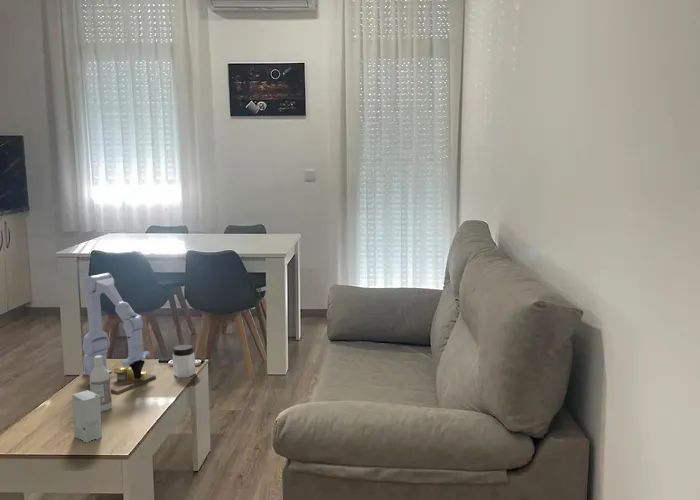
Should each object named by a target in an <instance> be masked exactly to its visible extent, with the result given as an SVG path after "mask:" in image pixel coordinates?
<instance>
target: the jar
mask: <svg viewBox="0 0 700 500" xmlns="http://www.w3.org/2000/svg"><path fill="white" fill-rule="evenodd" d="M172 349H173V350H172V366H173V367H172V369H173V376H175V377H176V378H178V379H179V378H190V377H191V376H193V374H194V375H195V374H196V363H195V362H196V360H195V359H196V358H195V352H194V345H192V344H186V343H185V344H177V345H175V346H173V348H172Z"/></svg>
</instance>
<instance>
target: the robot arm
mask: <svg viewBox="0 0 700 500" xmlns="http://www.w3.org/2000/svg"><path fill="white" fill-rule="evenodd" d="M83 283H84V294H85V297H86V299H85V300H86V309H87V310H86V311H87V322H88V332H87V333H86V334H85V335H84V337H83V342H82V351H83V352H84V353H85V354H84V356H83V358H82V364H83V372H82V373H81V374H82V375H85V376H89V377H90V374H91V372H92V370H93V368H94V367H95V365H94V356H97V355H101V356H102V359H103V366H104V367H105V368H106V369H107V371H108V372H109V374H110V373H112V372H113V371H112V370H109V369H108V362H107V353H108V350H109V349H110V346H111V345H110V344H111V342H110V341H111V340H110V339H109V336H108V333H107V332H105V331H104V330H103V320H102V306H101V294H105V295H106V296H107V298H108V299H109V300H110V301H111V302H112V304H113V305H114V307H115V309H114V310H115V312H116V314H117V315H118V317H119V318H120V320H121V321H122V323H123V324H122V329H123V330H124V332H125V336H126V339H127V340H126V341H127V349H128V350H127V353H128V356H127V358H125V360H124V361H121V363H122V366H124V367H127V366H130V367H131V369H132V371H133V373H134V378H135V379H140V378H141V372H142V370H143V367H144V365H145V359H147V358H149V357H150V355H151V354H150V351H144V343H143V331H142V330H143V329H144V328H145V320H144V318H143V316H142V315H141V314H138V313H136V312H135V311H134V310H133V308H132V306H131V305H130V303H128V302H127V301H124V300H123V298H122V296H121V295H120V293H119V292H118V289H117V288H116V286H115V278H114V277H113V275H112V274H111V273H110V272H104V273H100V274H96V275H88V276H87V277H86V278H85V279H84V280H83ZM83 373H84V374H83Z"/></svg>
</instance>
